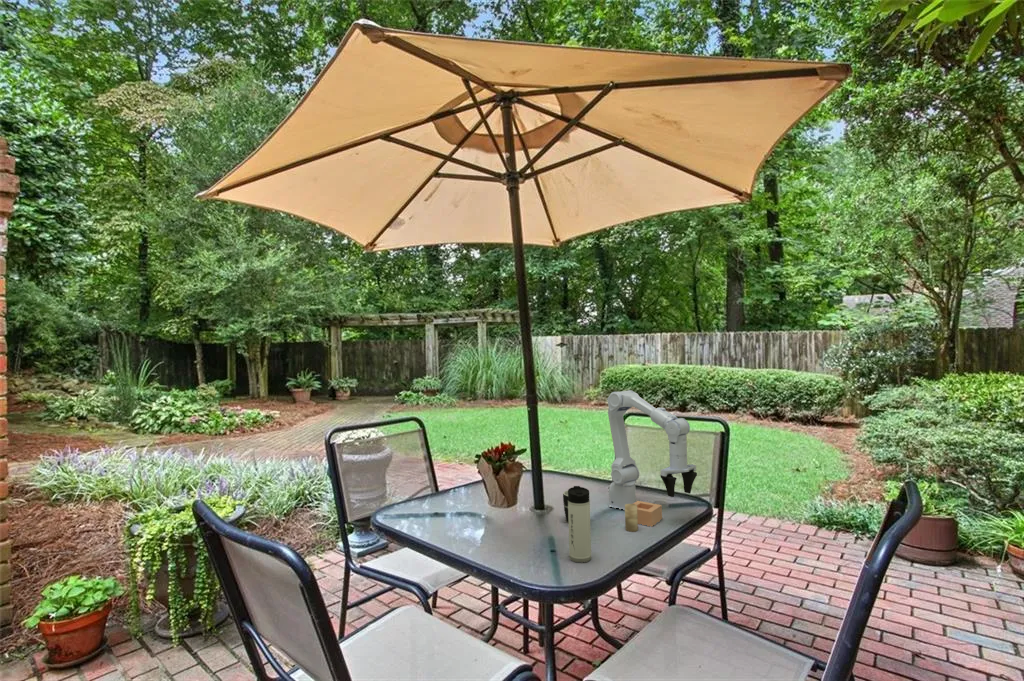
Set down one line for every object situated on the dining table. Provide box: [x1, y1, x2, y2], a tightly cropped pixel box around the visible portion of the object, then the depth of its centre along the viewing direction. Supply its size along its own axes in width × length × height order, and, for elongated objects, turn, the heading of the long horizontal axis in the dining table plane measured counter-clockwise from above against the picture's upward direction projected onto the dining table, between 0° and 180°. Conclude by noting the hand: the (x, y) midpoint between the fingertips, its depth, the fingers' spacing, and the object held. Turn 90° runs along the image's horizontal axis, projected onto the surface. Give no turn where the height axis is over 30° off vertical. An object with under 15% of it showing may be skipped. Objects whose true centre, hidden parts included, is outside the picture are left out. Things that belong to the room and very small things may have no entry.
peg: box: [624, 504, 639, 533], centre depth 163 cm, size 4×4×8 cm
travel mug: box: [567, 485, 592, 564], centre depth 142 cm, size 6×7×20 cm
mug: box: [562, 489, 569, 524], centre depth 170 cm, size 12×9×10 cm
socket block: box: [633, 500, 663, 528], centre depth 171 cm, size 9×9×5 cm
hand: (679, 494), depth 167 cm, fingers open, 7 cm apart
